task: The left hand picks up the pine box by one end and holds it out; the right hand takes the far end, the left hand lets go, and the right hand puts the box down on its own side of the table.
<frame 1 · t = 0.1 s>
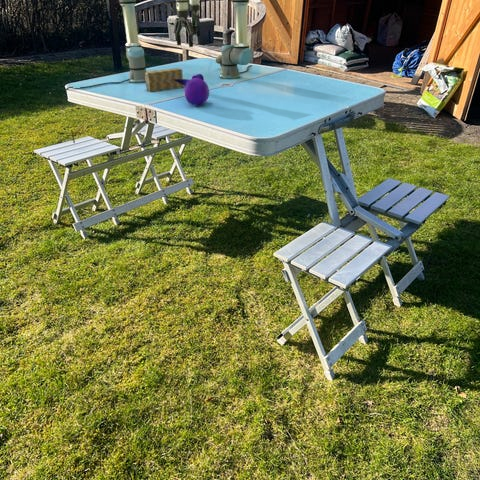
left hand: (196, 35, 349), 28 cm above the table, tool pointing down, fingers open, 13 cm apart
right hand: (185, 46, 296), 28 cm above the table, tool pointing down, fingers open, 13 cm apart
teapot: (227, 69, 378), on the table
toy: (193, 103, 276), on the table
box: (165, 88, 315), on the table
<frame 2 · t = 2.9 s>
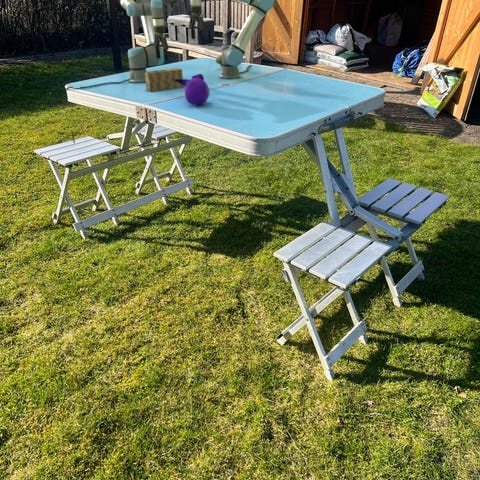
left hand: (162, 59, 312), 18 cm above the table, tool pointing down, fingers open, 13 cm apart
right hand: (197, 39, 316), 29 cm above the table, tool pointing down, fingers open, 13 cm apart
nothing on the table moved.
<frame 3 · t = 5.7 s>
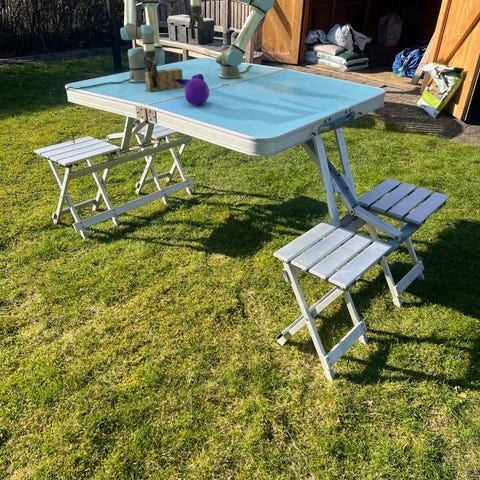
left hand: (153, 86, 309), 3 cm above the table, tool pointing down, fingers closed on box, 7 cm apart
right hand: (197, 39, 316), 29 cm above the table, tool pointing down, fingers open, 13 cm apart
box: (165, 88, 315), on the table, touching left hand
everything else where it was.
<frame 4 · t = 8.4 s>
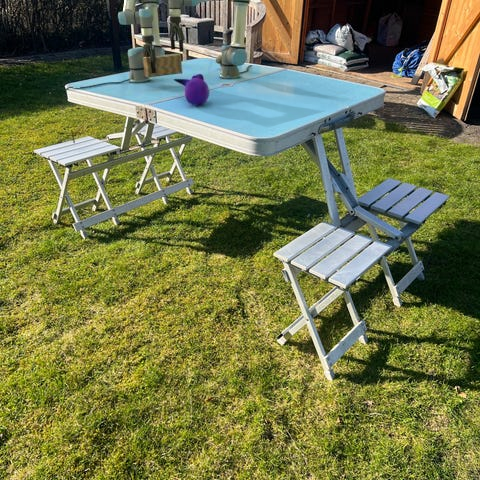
left hand: (151, 72, 305), 12 cm above the table, tool pointing down, fingers closed on box, 7 cm apart
right hand: (177, 50, 309), 24 cm above the table, tool pointing down, fingers open, 13 cm apart
box: (163, 74, 310), point 9 cm above the table, touching left hand
everything else where it was.
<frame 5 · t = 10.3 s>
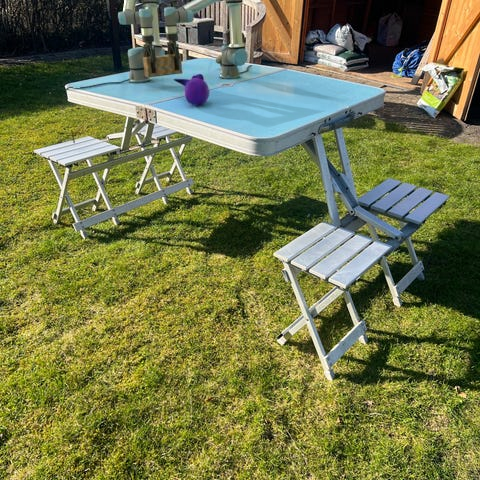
left hand: (151, 72, 305), 12 cm above the table, tool pointing down, fingers closed on box, 7 cm apart
right hand: (174, 69, 312), 12 cm above the table, tool pointing down, fingers closed on box, 7 cm apart
box: (163, 74, 310), point 9 cm above the table, touching left hand, right hand
everything else where it was.
when the left hand's fingers open (12 cm above the table, at t = 11.2 s): box stays where it is, held by the right hand.
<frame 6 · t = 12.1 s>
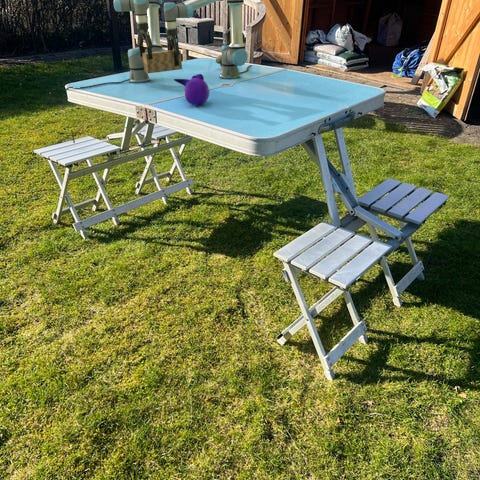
left hand: (146, 57, 299), 21 cm above the table, tool pointing down, fingers open, 13 cm apart
right hand: (174, 65, 311), 15 cm above the table, tool pointing down, fingers closed on box, 7 cm apart
box: (163, 70, 309), point 12 cm above the table, touching right hand
everything else where it was.
when the right hand's fingers open (4 cm above the table, at t = 15.6 s): box drops 1 cm, on the table.
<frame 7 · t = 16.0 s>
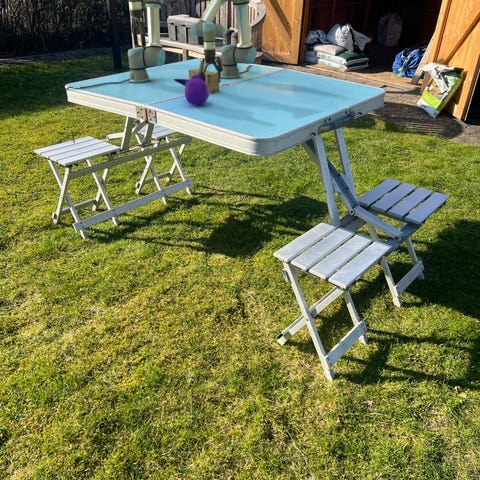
left hand: (140, 45, 293), 29 cm above the table, tool pointing down, fingers open, 13 cm apart
right hand: (211, 83, 301), 5 cm above the table, tool pointing down, fingers open, 11 cm apart
box: (204, 89, 309), on the table
everything else where it was.
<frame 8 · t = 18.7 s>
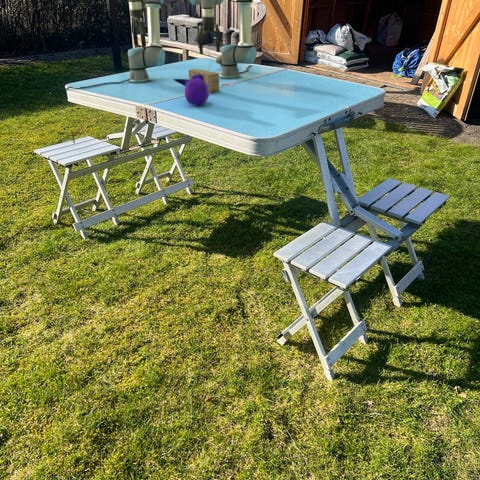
left hand: (140, 45, 293), 29 cm above the table, tool pointing down, fingers open, 13 cm apart
right hand: (209, 53, 291), 24 cm above the table, tool pointing down, fingers open, 13 cm apart
nothing on the table moved.
at the end: box inside the target area (8.6 cm from its centre), on the table; the left hand is holding nothing; the right hand is holding nothing; box at rest at the end (0.0 cm/s) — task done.
